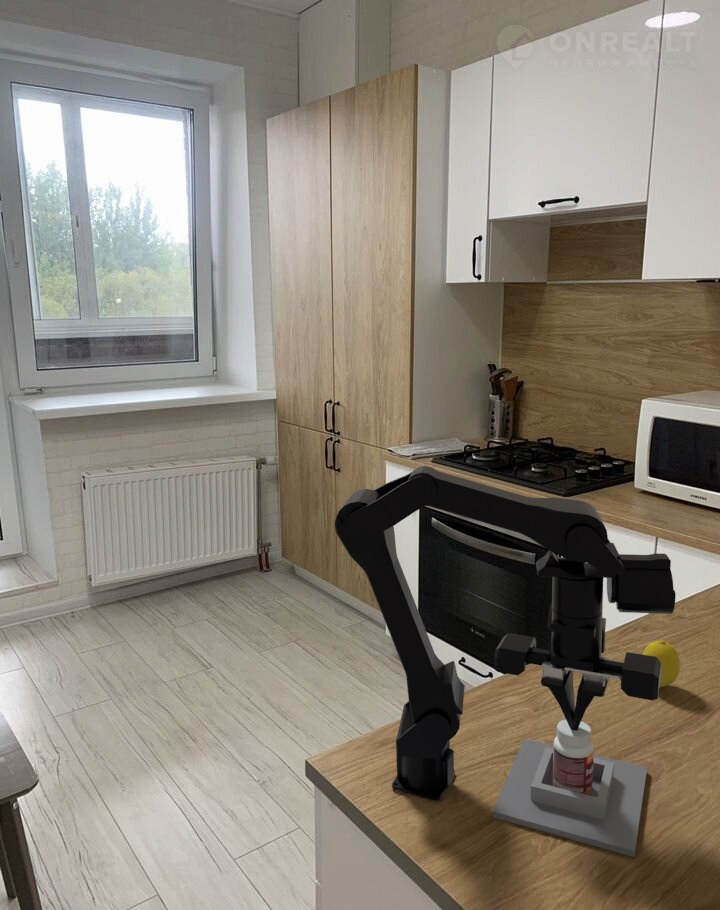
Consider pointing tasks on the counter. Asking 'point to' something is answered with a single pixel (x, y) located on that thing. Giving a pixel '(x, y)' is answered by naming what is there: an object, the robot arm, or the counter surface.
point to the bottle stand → (575, 800)
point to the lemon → (665, 660)
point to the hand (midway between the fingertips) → (574, 728)
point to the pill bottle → (573, 758)
